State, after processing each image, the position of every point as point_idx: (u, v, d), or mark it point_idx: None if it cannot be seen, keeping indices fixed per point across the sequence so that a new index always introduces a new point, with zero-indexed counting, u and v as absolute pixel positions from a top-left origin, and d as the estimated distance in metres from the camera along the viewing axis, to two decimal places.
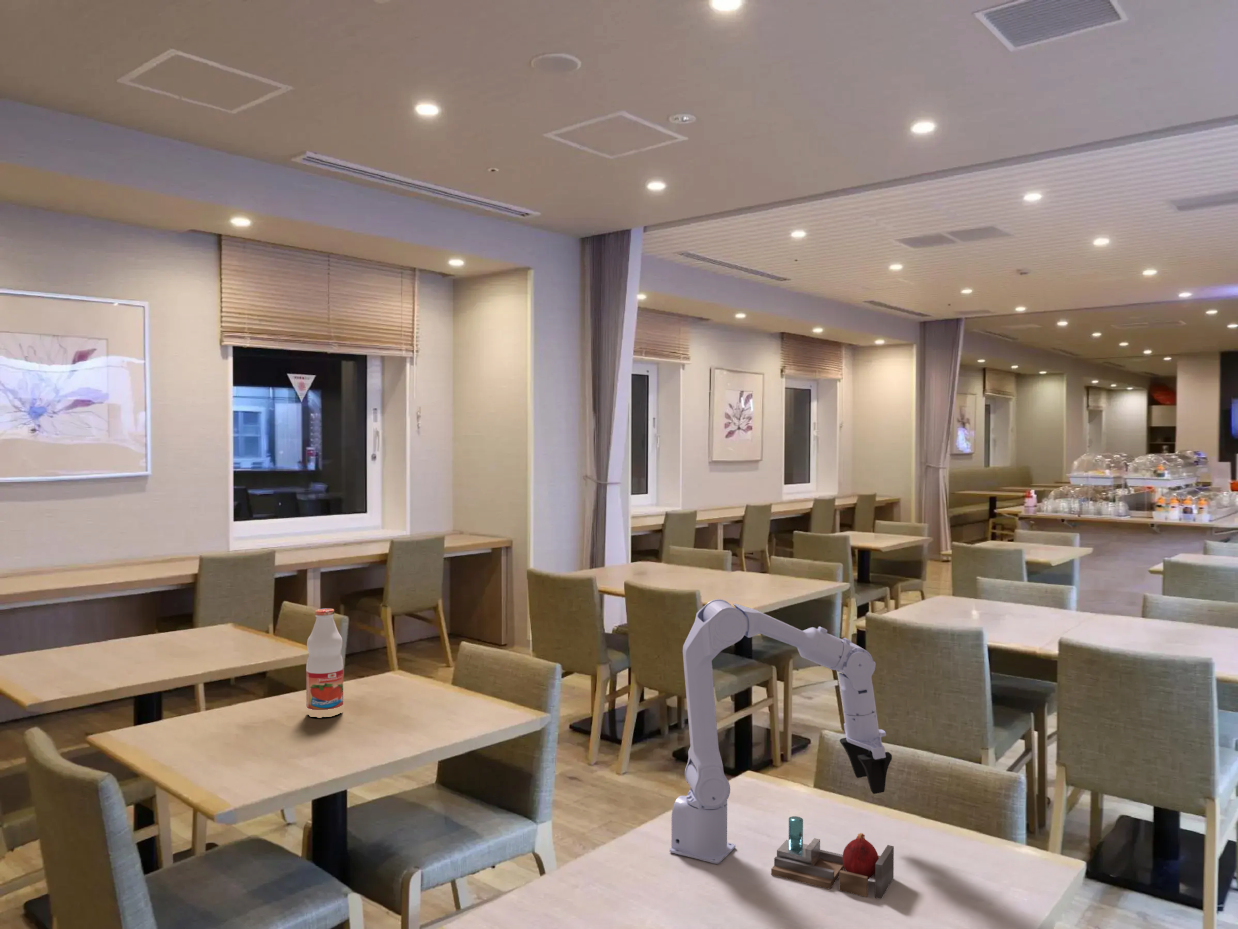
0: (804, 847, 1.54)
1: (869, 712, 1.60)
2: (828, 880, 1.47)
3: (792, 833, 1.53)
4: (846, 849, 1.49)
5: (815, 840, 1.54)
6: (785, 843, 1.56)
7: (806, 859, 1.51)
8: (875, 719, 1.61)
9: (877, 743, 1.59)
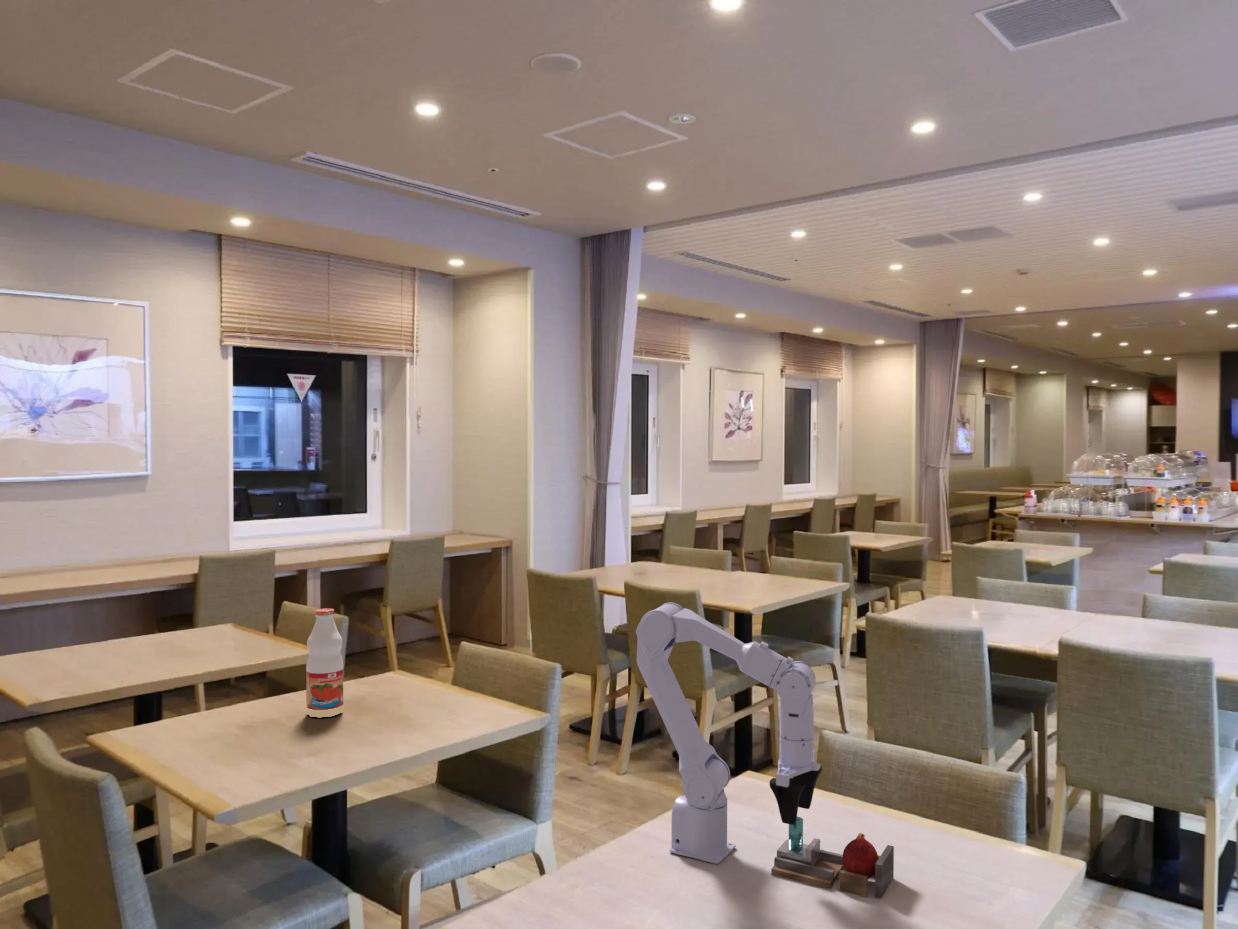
0: (804, 847, 1.54)
1: (797, 739, 1.51)
2: (828, 880, 1.47)
3: (792, 833, 1.53)
4: (846, 849, 1.49)
5: (815, 840, 1.54)
6: (785, 843, 1.56)
7: (806, 859, 1.51)
8: (803, 748, 1.51)
9: (791, 772, 1.50)
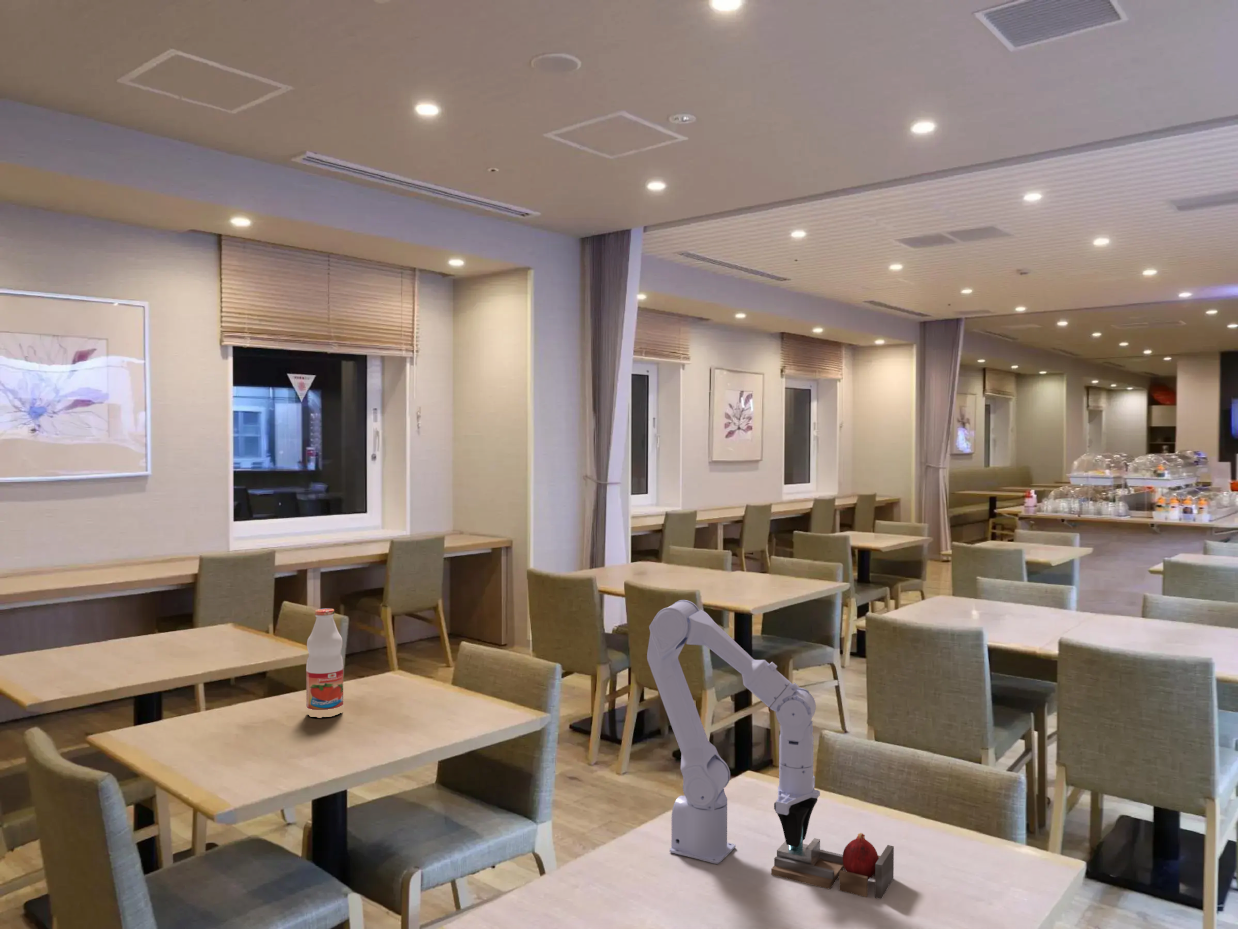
0: (804, 847, 1.54)
1: (797, 766, 1.51)
2: (828, 880, 1.47)
3: None
4: (846, 849, 1.49)
5: (815, 840, 1.54)
6: (785, 843, 1.56)
7: (806, 859, 1.51)
8: (803, 776, 1.51)
9: (790, 799, 1.50)
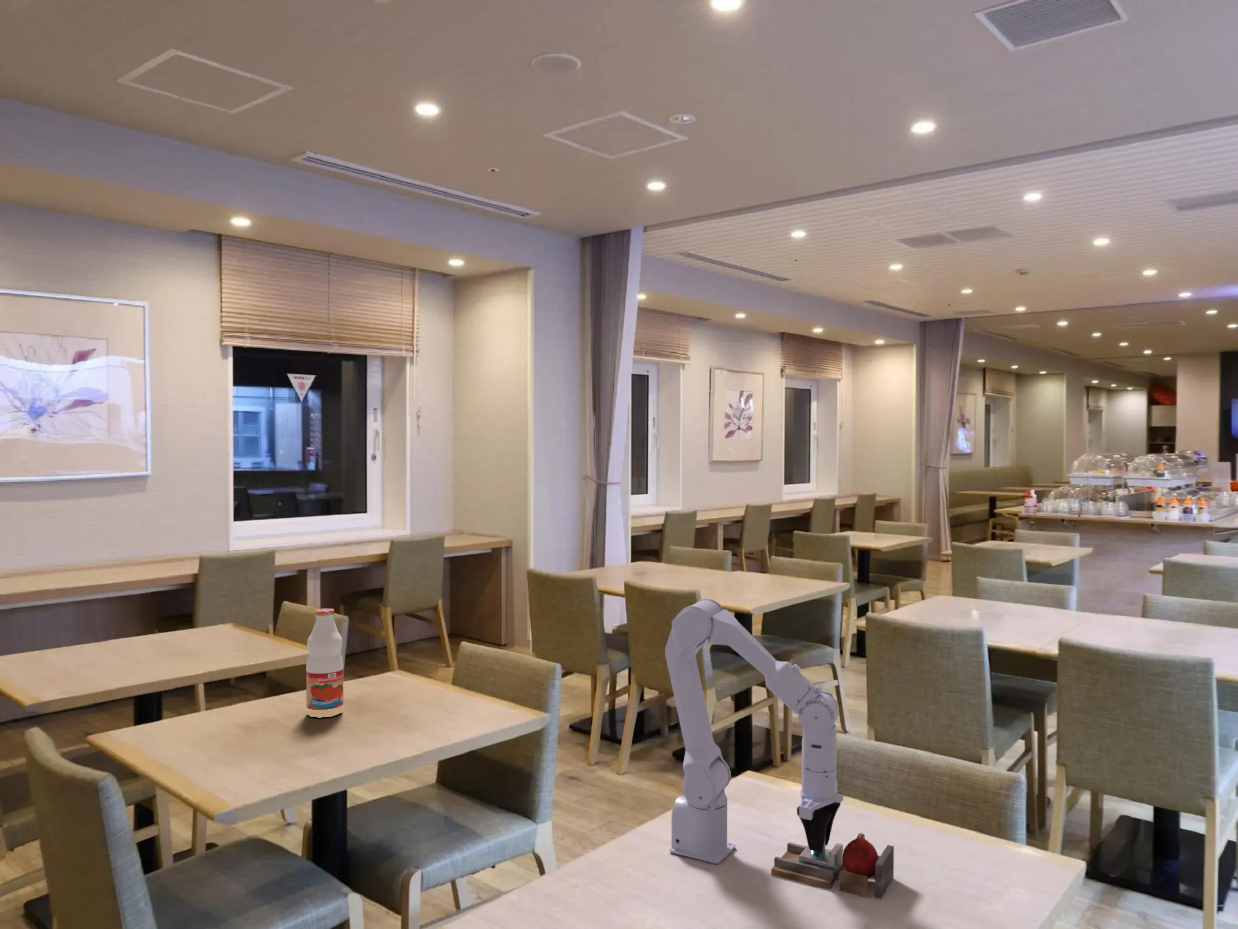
0: (826, 852, 1.53)
1: (820, 770, 1.49)
2: (828, 880, 1.47)
3: None
4: (846, 849, 1.49)
5: (838, 845, 1.52)
6: (807, 848, 1.54)
7: (829, 864, 1.49)
8: (826, 780, 1.49)
9: (814, 804, 1.48)
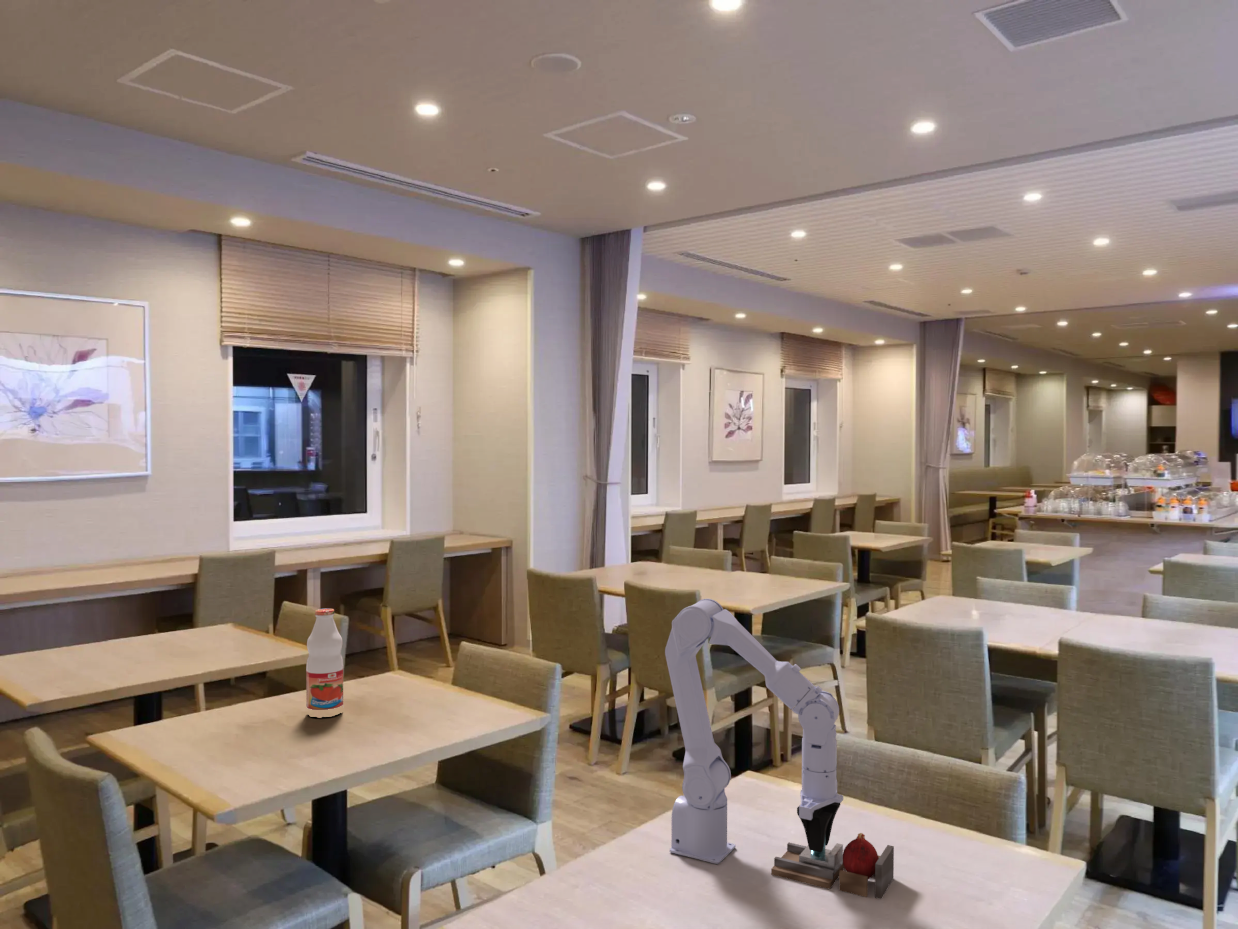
0: (826, 852, 1.53)
1: (820, 770, 1.49)
2: (828, 880, 1.47)
3: None
4: (846, 849, 1.49)
5: (838, 845, 1.52)
6: (807, 848, 1.54)
7: (829, 864, 1.49)
8: (826, 780, 1.49)
9: (814, 804, 1.48)
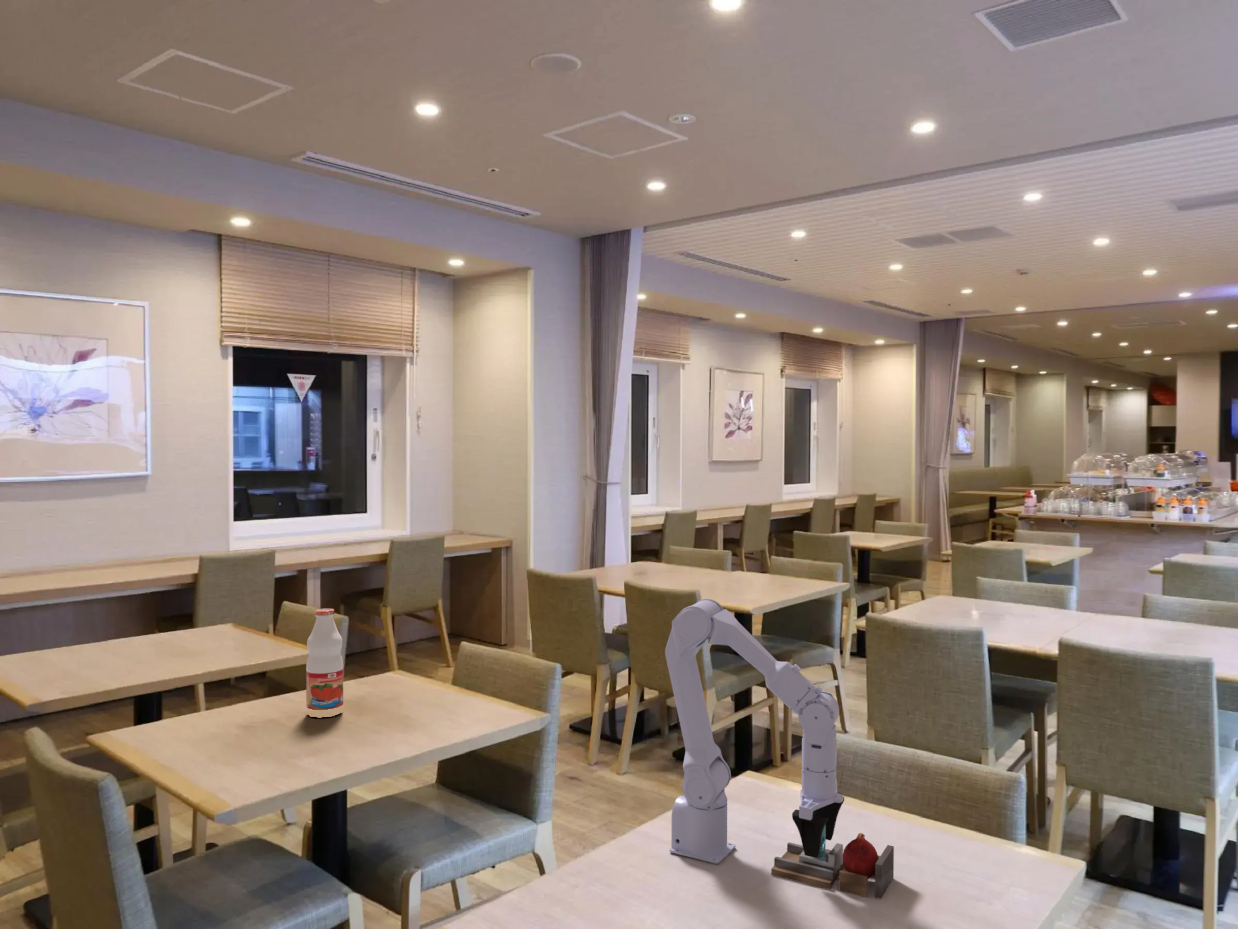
0: (826, 852, 1.53)
1: (820, 770, 1.49)
2: (828, 880, 1.47)
3: None
4: (846, 849, 1.49)
5: (838, 845, 1.52)
6: None
7: (829, 864, 1.49)
8: (826, 780, 1.49)
9: (814, 804, 1.48)
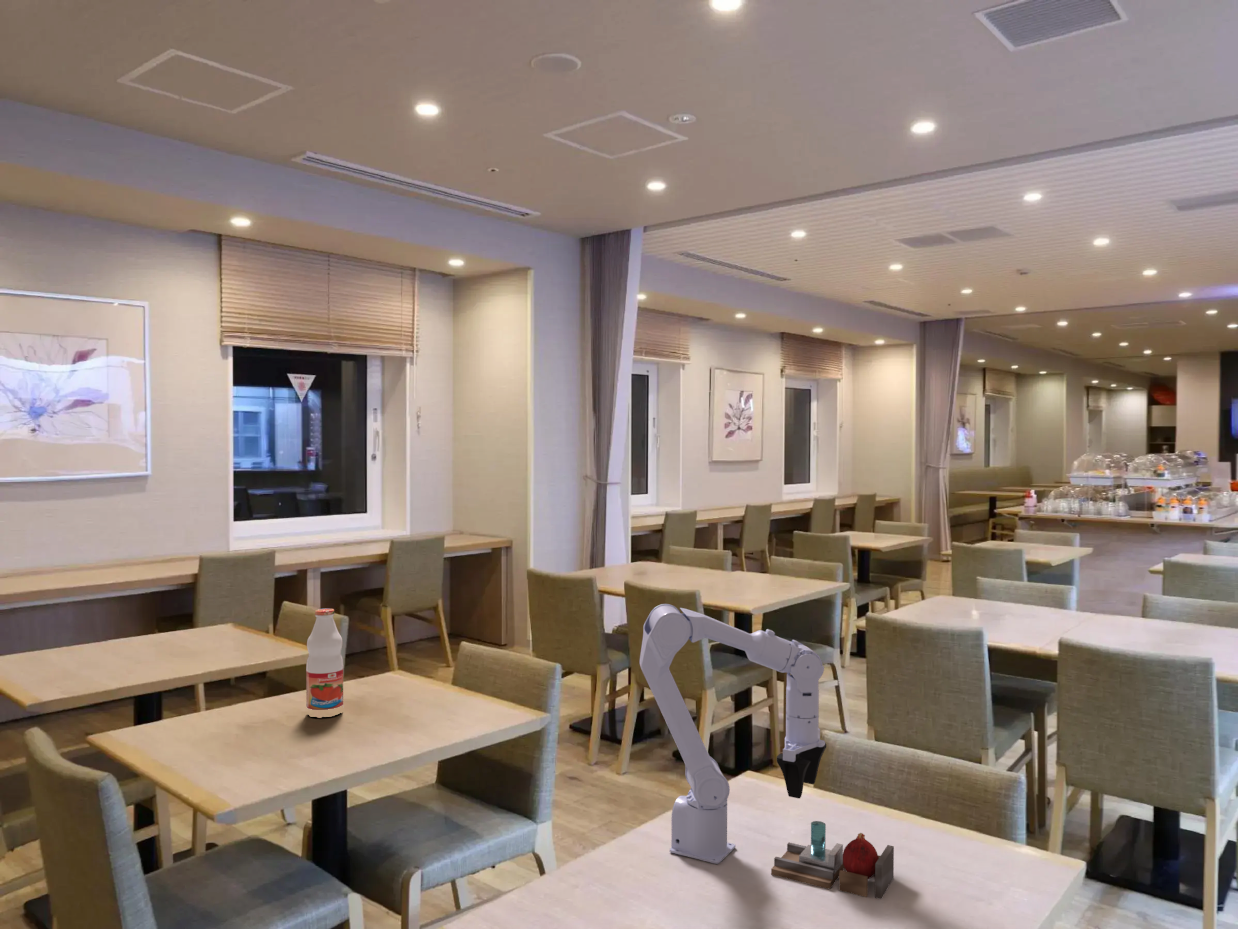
0: (826, 852, 1.53)
1: (811, 716, 1.58)
2: (828, 880, 1.47)
3: (815, 838, 1.51)
4: (846, 849, 1.49)
5: (838, 845, 1.52)
6: (807, 848, 1.54)
7: (829, 864, 1.49)
8: (809, 726, 1.58)
9: (797, 748, 1.57)
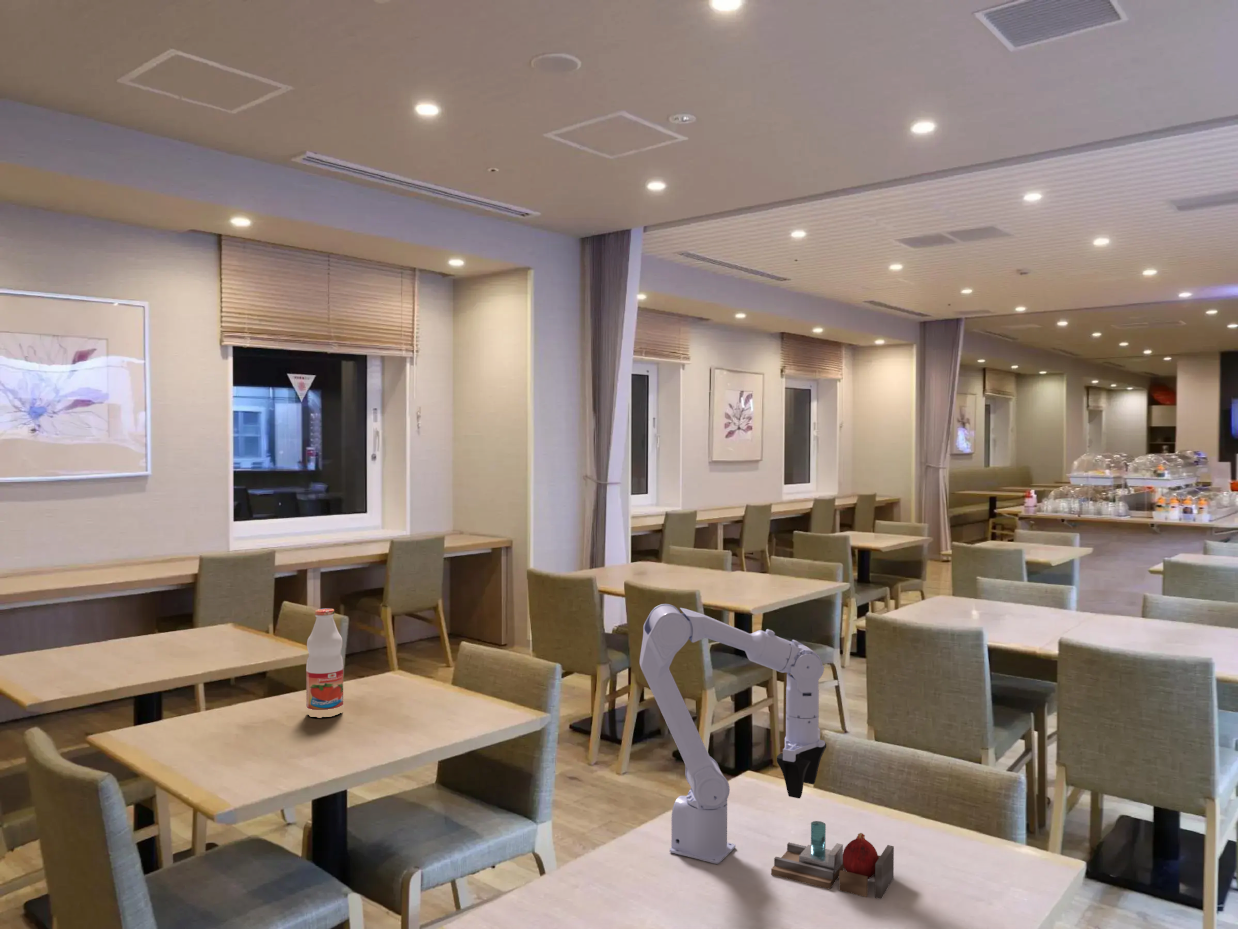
0: (826, 852, 1.53)
1: (811, 716, 1.58)
2: (828, 880, 1.47)
3: (815, 838, 1.51)
4: (846, 849, 1.49)
5: (838, 845, 1.52)
6: (807, 848, 1.54)
7: (829, 864, 1.49)
8: (809, 726, 1.58)
9: (797, 748, 1.57)
